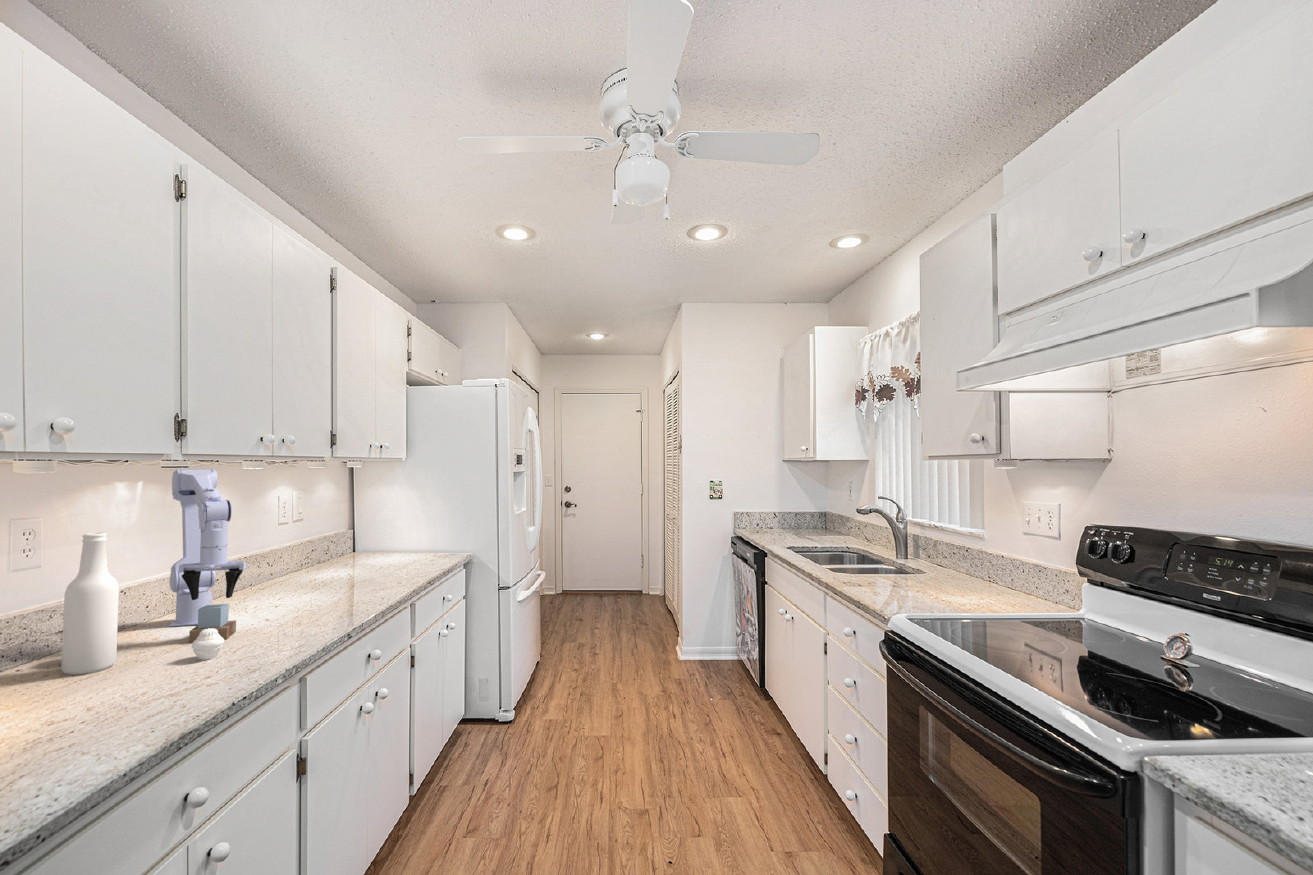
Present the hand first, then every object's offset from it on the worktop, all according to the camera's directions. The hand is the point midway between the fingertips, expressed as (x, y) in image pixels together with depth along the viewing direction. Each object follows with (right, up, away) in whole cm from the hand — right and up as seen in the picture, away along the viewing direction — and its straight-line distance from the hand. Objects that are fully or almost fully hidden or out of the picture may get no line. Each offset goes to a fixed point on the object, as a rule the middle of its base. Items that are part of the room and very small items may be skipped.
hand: (212, 598), depth 155 cm
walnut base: (+1, -11, 0) cm, 11 cm away
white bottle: (-9, -9, -24) cm, 28 cm away
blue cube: (+1, -7, -1) cm, 7 cm away
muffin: (+12, -10, -17) cm, 23 cm away
